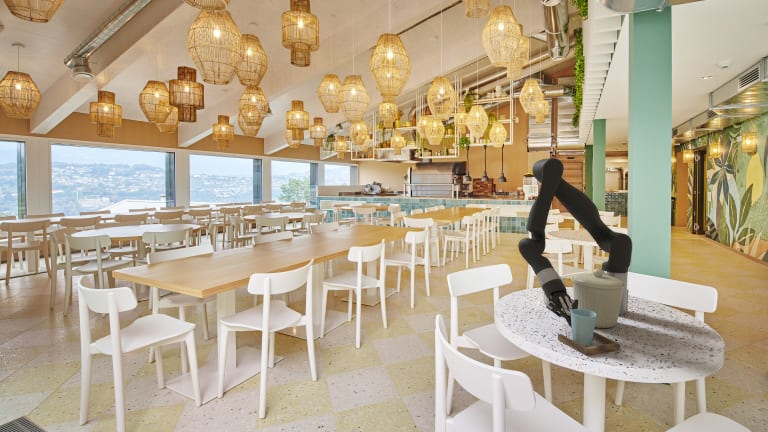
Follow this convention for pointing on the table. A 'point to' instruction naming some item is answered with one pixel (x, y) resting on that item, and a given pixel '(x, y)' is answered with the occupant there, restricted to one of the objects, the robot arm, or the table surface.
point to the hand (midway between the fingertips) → (574, 326)
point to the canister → (599, 296)
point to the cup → (583, 326)
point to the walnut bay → (607, 347)
